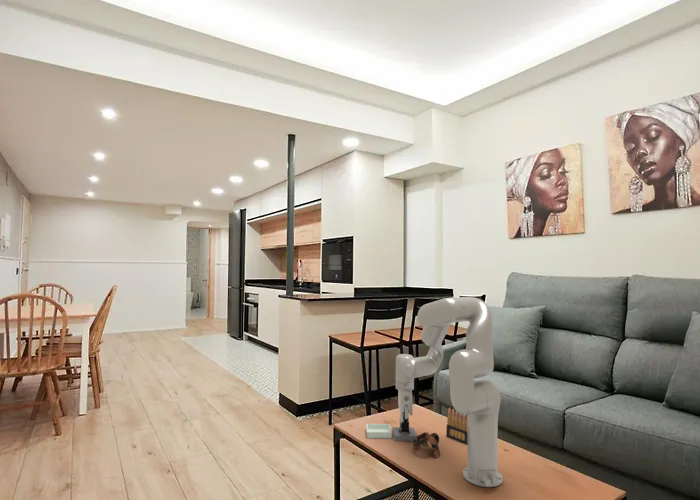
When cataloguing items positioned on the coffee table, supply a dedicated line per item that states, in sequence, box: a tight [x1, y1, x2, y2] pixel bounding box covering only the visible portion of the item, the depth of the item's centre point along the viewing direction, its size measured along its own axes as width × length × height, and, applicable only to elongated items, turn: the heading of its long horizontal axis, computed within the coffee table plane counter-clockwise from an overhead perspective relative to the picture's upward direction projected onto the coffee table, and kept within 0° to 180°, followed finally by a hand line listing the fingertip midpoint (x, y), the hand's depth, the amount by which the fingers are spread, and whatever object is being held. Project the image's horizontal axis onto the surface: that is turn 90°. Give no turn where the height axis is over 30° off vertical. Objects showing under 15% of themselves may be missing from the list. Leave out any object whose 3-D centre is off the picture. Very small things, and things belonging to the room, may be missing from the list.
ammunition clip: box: [445, 407, 469, 446], centre depth 165 cm, size 11×2×12 cm, turn 40°
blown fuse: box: [399, 413, 408, 434], centre depth 168 cm, size 3×3×9 cm
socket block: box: [391, 426, 418, 442], centre depth 168 cm, size 9×9×2 cm
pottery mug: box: [411, 431, 441, 459], centre depth 154 cm, size 12×10×8 cm
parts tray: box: [365, 423, 393, 440], centre depth 170 cm, size 9×10×2 cm
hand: (404, 429), depth 168 cm, fingers closed on blown fuse, 3 cm apart
